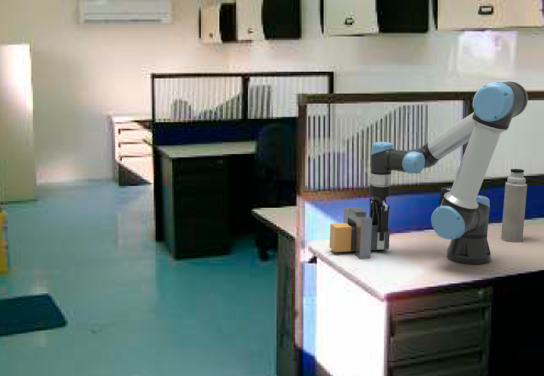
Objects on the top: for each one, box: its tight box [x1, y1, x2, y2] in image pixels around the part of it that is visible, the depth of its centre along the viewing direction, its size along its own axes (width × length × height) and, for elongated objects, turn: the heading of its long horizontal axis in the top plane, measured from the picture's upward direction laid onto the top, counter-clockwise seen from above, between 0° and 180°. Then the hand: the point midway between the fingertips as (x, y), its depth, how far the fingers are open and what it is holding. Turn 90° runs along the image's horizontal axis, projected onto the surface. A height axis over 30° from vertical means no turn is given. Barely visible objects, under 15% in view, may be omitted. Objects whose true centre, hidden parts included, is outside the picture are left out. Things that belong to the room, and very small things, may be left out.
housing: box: [342, 206, 372, 260], centre depth 255 cm, size 18×4×16 cm, turn 14°
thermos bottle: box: [500, 168, 528, 243], centre depth 273 cm, size 8×8×28 cm
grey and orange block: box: [329, 222, 391, 253], centre depth 256 cm, size 21×6×9 cm, turn 104°
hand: (377, 246), depth 259 cm, fingers closed on grey and orange block, 5 cm apart
